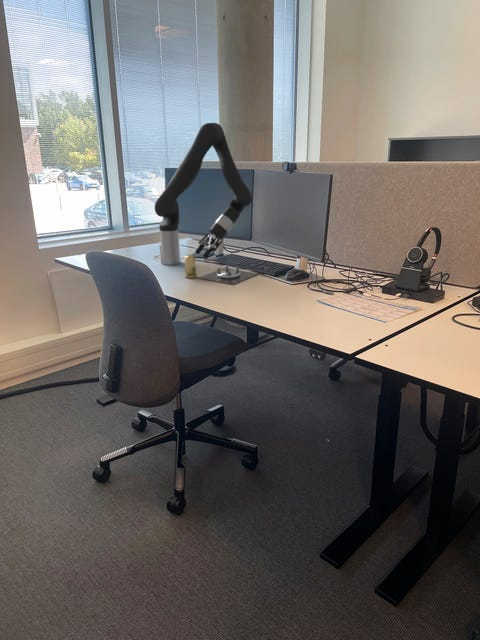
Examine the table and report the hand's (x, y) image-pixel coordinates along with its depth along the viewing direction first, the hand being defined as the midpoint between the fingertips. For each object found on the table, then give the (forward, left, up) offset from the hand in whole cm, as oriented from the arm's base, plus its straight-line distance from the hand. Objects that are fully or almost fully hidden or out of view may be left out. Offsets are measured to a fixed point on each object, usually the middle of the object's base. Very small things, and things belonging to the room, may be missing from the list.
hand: (200, 254), depth 208 cm
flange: (+12, +5, -10) cm, 16 cm away
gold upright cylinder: (-2, -5, -10) cm, 11 cm away
